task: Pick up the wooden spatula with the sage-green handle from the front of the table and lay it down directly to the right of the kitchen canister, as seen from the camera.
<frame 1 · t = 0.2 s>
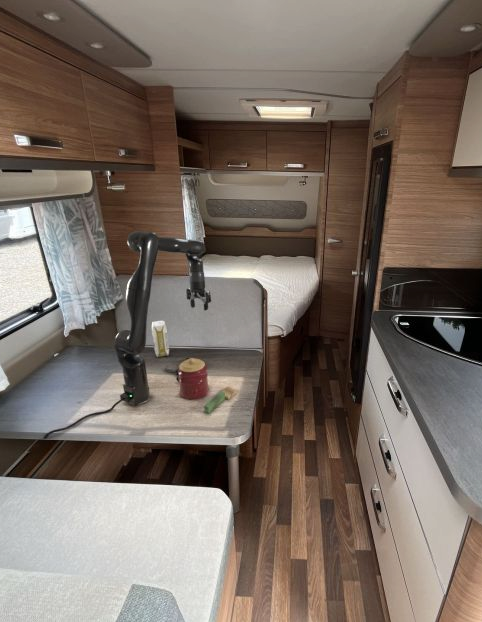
hand: (199, 308, 178), 29 cm above the table, tool pointing down, fingers open, 8 cm apart
kitchen canister: (194, 391, 157), on the table
juice carton: (162, 354, 191), on the table
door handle: (182, 370, 175), on the table
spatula: (215, 405, 148), on the table
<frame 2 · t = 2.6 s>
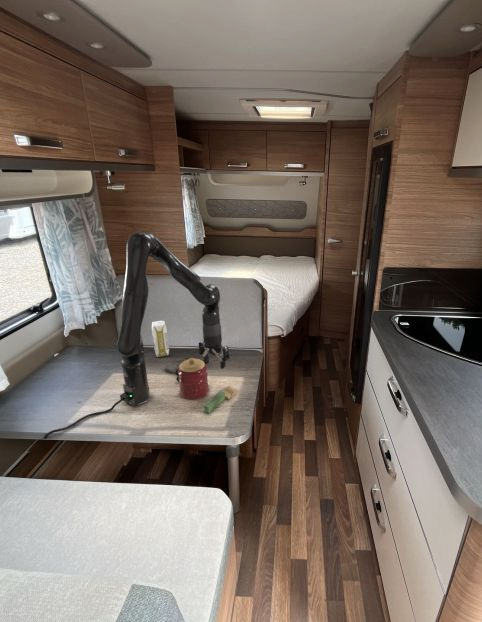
hand: (214, 365, 147), 17 cm above the table, tool pointing down, fingers open, 8 cm apart
nothing on the table moved.
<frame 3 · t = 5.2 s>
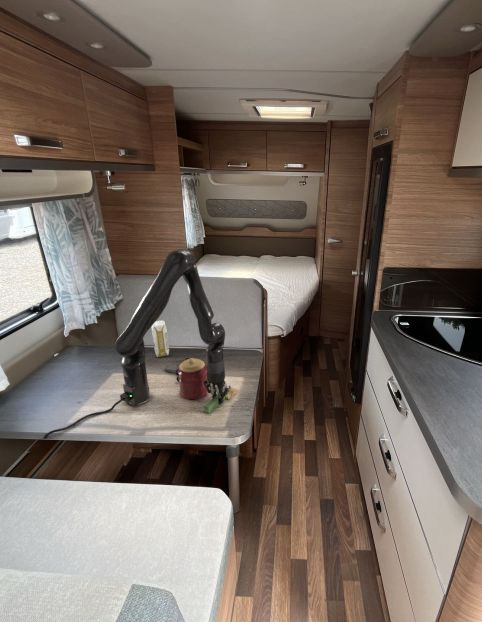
hand: (218, 402, 149), 0 cm above the table, tool pointing down, fingers closed on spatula, 2 cm apart
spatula: (215, 405, 148), on the table, touching gripper
everything else where it was.
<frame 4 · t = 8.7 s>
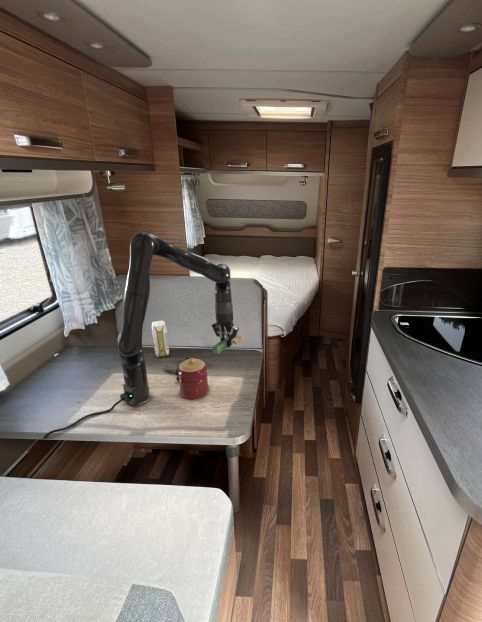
hand: (226, 345, 152), 23 cm above the table, tool pointing down, fingers closed on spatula, 2 cm apart
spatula: (223, 348, 150), point 22 cm above the table, touching gripper
everything else where it was.
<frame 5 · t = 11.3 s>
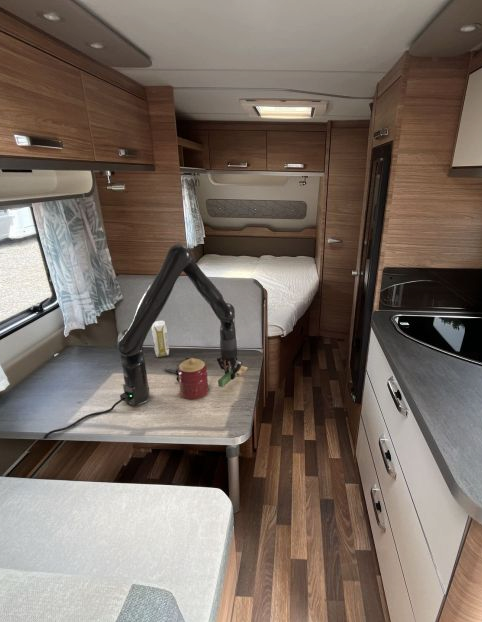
hand: (230, 378, 161), 4 cm above the table, tool pointing down, fingers closed on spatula, 2 cm apart
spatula: (228, 380, 160), point 4 cm above the table, touching gripper
everything else where it was.
when the fingers open (0 cm above the table, at t = 12.6 s): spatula stays where it is, on the table.
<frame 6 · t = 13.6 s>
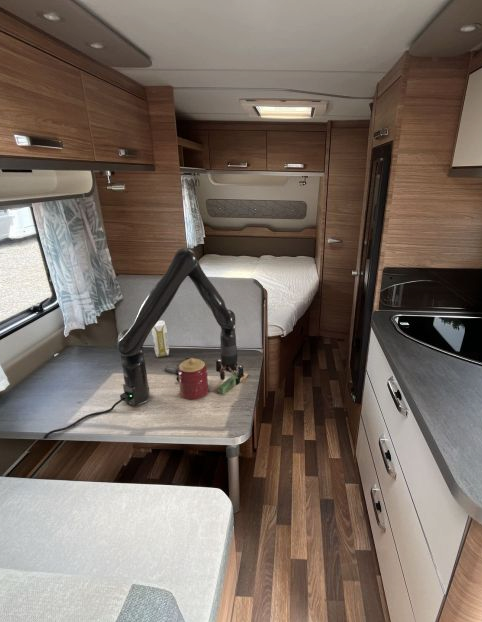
hand: (230, 381, 162), 2 cm above the table, tool pointing down, fingers open, 8 cm apart
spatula: (228, 387, 161), on the table
everything else where it was.
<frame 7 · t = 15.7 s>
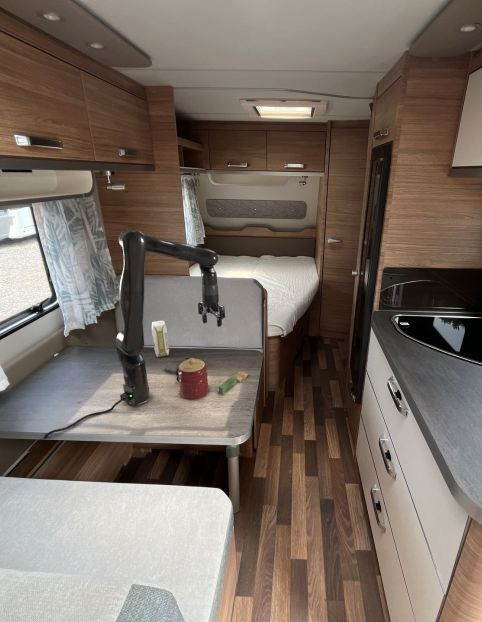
hand: (212, 324, 161), 28 cm above the table, tool pointing down, fingers open, 8 cm apart
nothing on the table moved.
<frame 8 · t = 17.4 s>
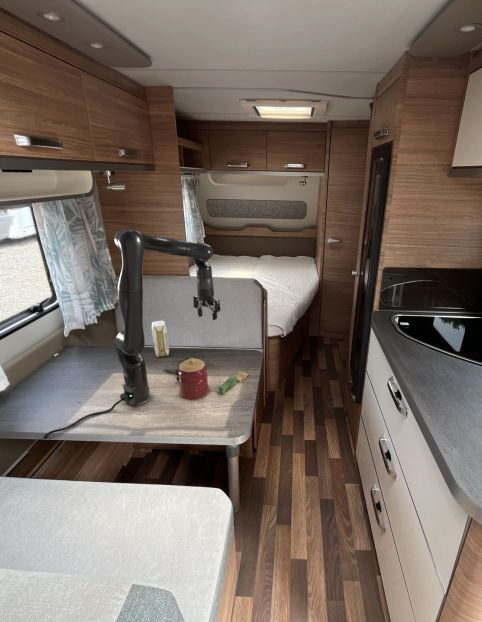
hand: (207, 318, 163), 30 cm above the table, tool pointing down, fingers open, 8 cm apart
nothing on the table moved.
at the end: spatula inside the target area on the table beside the kitchen canister (0.1 cm from its centre), on the table; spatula tilted 0°; the gripper is holding nothing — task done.
